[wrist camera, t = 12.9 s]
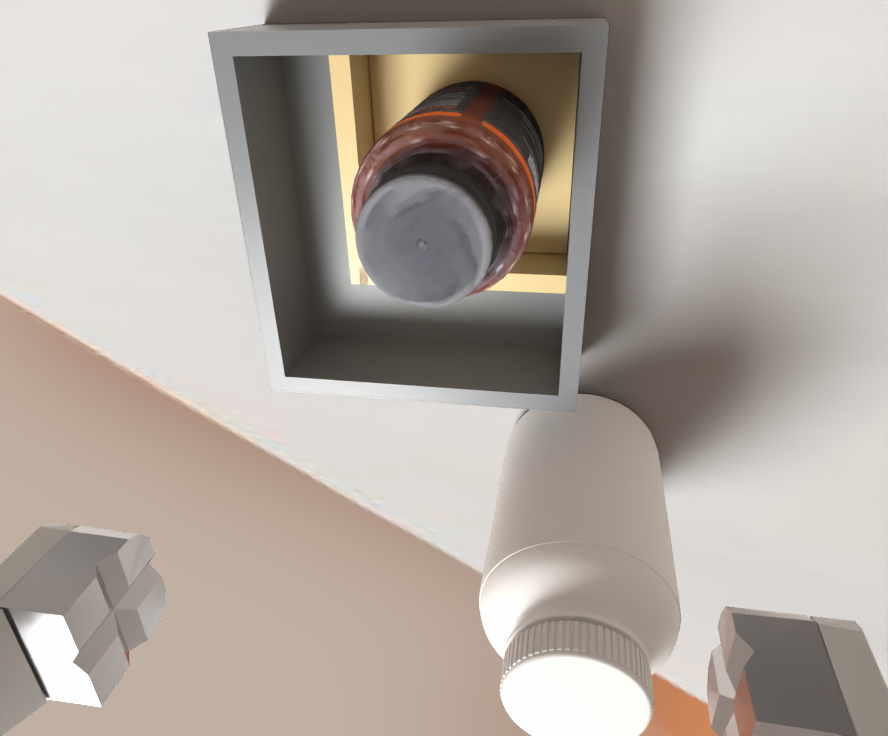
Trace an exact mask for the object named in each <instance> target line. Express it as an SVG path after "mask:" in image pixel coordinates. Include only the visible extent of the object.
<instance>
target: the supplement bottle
mask: <svg viewBox="0 0 888 736" xmlns="http://www.w3.org/2000/svg"><path fill="white" fill-rule="evenodd" d="M543 170H544V144H543V139H542V134H541V131H540V128H539V125H538V123H537V121H536V119H535V117H534V115H533V114H532V112H531V111H530V110H529V108H528V107H527V105H526V104H525V103H524V102H523V101H522V100H521V99H519V98H518V97H517V96H516V95H514V94H513V93H511V92H510V91H508V90H506V89H505V88H502V87H500V86H498V85H495V84H492V83H488V82H485V81H464V82H458V83H454V84H451V85H448V86H446V87H444V88H442V89H440V90H438V91H436V92H434V93H433V94H431V95H430V96H428V97H427V98H426V99H425V100H423V101H422V102H421V103H420V104H419V105H418V106H416V107H415V108H414V109H413V110H412V111H410V112H409V113H408V114H407V115H406V116H405V117H403V118H402V119H401V120H400V121H399V122H397V123H396V124H395V125H394V126H393V127H391V128H390V129H389V130H388V131H387V132H386V133H385V134H383V135H382V136H381V137H380V138H379V139H378V140H377V141H376V142H375V143H374V144H373V145H372V147H371V148H370V150H369V151H368V152H367V154H366V155H365V157H364V158H363V160H362V162H361V164H360V166H359V169H358V172H357V174H356V176H355V179H354V183H353V188H352V194H351V217H352V223H353V227H354V231H355V239H356V248H357V252H358V256H359V259H360V261H361V264H362V266H363V268H364V270H365V272H366V273H367V275H368V276H369V278H370V279H371V280H372V282H373V283H374V284H375V285H376V286H377V287H378V288H379V289H380V290H382V291H383V292H384V293H386V294H387V295H388V296H390V297H391V298H393V299H395V300H397V301H399V302H401V303H403V304H407V305H411V306H416V307H420V308H438V307H445V306H448V305H451V304H453V303H456V302H458V301H459V300H461V299H463V298H466V297H469V296H472V295H475V294H478V293H480V292H483V291H485V290H486V289H489V288H491V287H492V286H494V285H495V284H496V283H498V282H499V281H500V280H502V279H503V278H504V277H505V276H506V275H507V274H508V273H509V272H510V271H511V270H512V269H513V268H514V266H515V264H516V263H517V262H518V261H519V259H520V257H521V256H522V254H523V252H524V250H525V248H526V246H527V243H528V241H529V238H530V235H531V232H532V227H533V223H534V219H535V214H536V208H537V203H538V198H539V191H540V187H541V180H542V175H543Z"/></svg>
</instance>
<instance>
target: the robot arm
mask: <svg viewBox="0 0 888 736" xmlns="http://www.w3.org/2000/svg"><path fill="white" fill-rule="evenodd" d="M153 556H154V551H153V548H152V546H151V543H150V540H149V538H148V537H145V536H143V535H139V534H133V533H127V532H120V531H113V530H107V529H101V528H94V527H88V526H78V525H71V524H64V523H58V522H51V523H48V524H46V525H43V526H40V527H39V528H38V529H37V530H36V531H35V532H34V533H33V534H32V535H31V536H30V537H29V538H28V539H27V540H26V541H25V542H24V543H22V544H21V545H20V546H19V547H18V548H17V549H16V550H15V551H14V552H13V553H12V554H11V555H10V556H9V557H8V558H7V559H6V560H5V561H4V562H3V563H1V564H0V736H2V735H3V734H5V733H6V732H7V731H9V730H10V729H12V728H13V727H14V726H16V725H17V724H18V723H20V722H21V721H23V720H24V719H25V718H27V717H28V716H29V715H31V714H32V713H33V712H35V711H36V710H38V709H39V708H40V707H42V706H43V705H44V704H46V703H47V700H46V699H50V700H58V701H65V702H71V703H79V704H86V705H93V706H99V707H101V706H102V705H103V704H104V702H105V701H106V699H107V698H108V696H109V695H110V694H111V692H112V691H113V689H114V688H115V686H116V685H117V683H118V682H119V681H120V679H121V678H122V676H123V675H124V673H125V672H126V670H127V669H128V668H129V666H130V662H129V651H130V650H132V649H134V648H135V647H137V646H139V645H140V644H142V643H143V642H145V641H146V640H148V638H149V637H150V635H151V634H152V632H153V631H154V629H155V628H156V626H157V625H158V623H159V620H160V617H161V614H162V611H163V607H164V605H165V587H164V583H163V580H162V576H161V575H160V574H159V573H158V572H157V571H156V570H155V569H154V568H153V567H152V566H151V565H150V564H149V562H150V561H151V559H152V557H153ZM718 631H719V636H720V642H721V645H720V646H718V647H717V648H715V649H714V650H712V653H711V658H710V663H709V668H708V683H707V696H708V708H709V715H710V722H711V727H712V729H713V730H714V731H715V732H716V733H717V735H718V736H888V687H887V685H886V683H885V680H884V678H883V676H882V673H881V671H880V669H879V666H878V664H877V662H876V660H875V657H874V655H873V653H872V650H871V648H870V646H869V643H868V641H867V639H866V636H865V634H864V632H863V630H862V628H861V627H860V626H859V625H858V624H857V623H856V622H855V621H847V620H839V619H830V618H822V617H813V616H811V617H808V616H806V615H797V614H788V613H779V612H771V611H762V610H753V609H744V608H735V607H727V606H726V607H725V608H724V610H723V611H722V613H721V616H720V620H719V624H718Z"/></svg>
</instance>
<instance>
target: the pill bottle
mask: <svg viewBox="0 0 888 736" xmlns="http://www.w3.org/2000/svg"><path fill="white" fill-rule="evenodd" d="M479 607H480V613H481V619H482V623H483V626H484V629H485V632H486V635H487V637H488V639H489V641H490V642H491V644H492V645H493V647H494V649H495V650H496V651H497V653H498V654H499V655H500V656H501V657H502V658H503V667H502V674H501V682H500V696H501V700H502V701H503V705H504V707H505V709H506V711H507V712H508V714H509V716H510V717H511V718H512V719H513V720H514V722H515V723H516V724H517V725H518V726H520V727H521V728H522V729H523V730H525V731H526V732H527V733H529V734H530V735H532V736H639V735H640V734H641V733H642V732H643V731H644V730H645V728H646V727H647V726H648V724H649V723H650V720H651V718H652V716H653V712H654V700H653V699H654V698H653V687H652V677H651V675H652V674H654V673H655V672H656V671H657V670H658V669H659V668H660V667H661V666H662V665H663V664H664V663H665V662H666V660H667V659H668V657H669V656H670V654H671V652H672V651H673V648H674V646H675V644H676V641H677V637H678V633H679V629H680V623H681V613H680V602H679V595H678V588H677V581H676V574H675V567H674V560H673V553H672V545H671V538H670V531H669V524H668V517H667V510H666V503H665V496H664V489H663V482H662V475H661V468H660V460H659V454H658V450H657V447H656V444H655V441H654V439H653V436H652V434H651V432H650V431H649V429H648V427H647V426H646V425H645V423H644V422H643V421H642V420H641V419H640V418H639V417H638V416H637V415H636V414H635V413H634V412H632V411H631V410H630V409H628V408H627V407H625V406H624V405H622V404H620V403H618V402H616V401H613V400H611V399H608V398H605V397H601V396H597V395H590V394H578V398H577V410H576V413H571V412H557V411H544V410H529V411H528V412H527V413H525V414H524V415H523V416H522V417H521V419H520V420H519V421H518V422H517V424H516V425H515V427H514V428H513V430H512V432H511V435H510V437H509V440H508V443H507V446H506V450H505V456H504V461H503V467H502V472H501V478H500V483H499V489H498V494H497V500H496V505H495V511H494V516H493V522H492V527H491V533H490V538H489V544H488V549H487V555H486V560H485V566H484V571H483V577H482V582H481V588H480V597H479Z"/></svg>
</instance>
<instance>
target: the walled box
mask: <svg viewBox="0 0 888 736" xmlns="http://www.w3.org/2000/svg"><path fill="white" fill-rule="evenodd" d="M608 34H609V24H608V22H607V20H606V19H605V17H602V18H552V19H502V20H452V21H402V22H352V23H302V24H262V25H255V26H248V27H241V28H233V29H226V30H219V31H212V32H208V37H209V42H210V48H211V54H212V59H213V65H214V71H215V76H216V82H217V87H218V93H219V99H220V104H221V110H222V116H223V121H224V127H225V133H226V138H227V144H228V150H229V155H230V161H231V166H232V172H233V178H234V183H235V189H236V195H237V200H238V206H239V212H240V217H241V223H242V229H243V234H244V240H245V245H246V251H247V257H248V262H249V268H250V274H251V279H252V285H253V291H254V296H255V302H256V308H257V313H258V319H259V324H260V330H261V336H262V341H263V347H264V353H265V358H266V364H267V370H268V375H269V381H270V387H271V390H272V391H286V392H299V393H313V394H326V395H340V396H354V397H367V398H381V399H394V400H408V401H422V402H435V403H449V404H462V405H476V406H489V407H503V408H517V409H530V410H544V411H557V412H571V413H576V410H577V398H578V386H579V375H580V363H581V351H582V339H583V328H584V316H585V304H586V292H587V281H588V269H589V257H590V245H591V234H592V222H593V210H594V198H595V187H596V175H597V163H598V151H599V140H600V128H601V116H602V104H603V93H604V81H605V69H606V57H607V46H608ZM464 81H485V82H488V83H492V84H495V85H498V86H500V87H502V88H505V89H506V90H508V91H510V92H511V93H513V94H514V95H516V96H517V97H518V98H519V99H521V100H522V101H523V102H524V103H525V104H526V105H527V107H528V108H529V110H530V111H531V112H532V114H533V115H534V117H535V119H536V121H537V123H538V125H539V128H540V131H541V134H542V139H543V144H544V170H543V175H542V180H541V187H540V191H539V198H538V203H537V208H536V214H535V219H534V223H533V227H532V232H531V235H530V238H529V241H528V243H527V246H526V248H525V250H524V252H523V254H522V256H521V257H520V259H519V261H518V262H517V263H516V264H515V266H514V268H513V269H512V270H511V271H510V272H509V273H508V274H507V275H506V276H505V277H504V278H503V279H502V280H500V281H499V282H498V283H496V284H495V285H494V286H492V287H491V288H489V289H486V290H485V291H483V292H480V293H478V294H475V295H472V296H469V297H466V298H463V299H461V300H459V301H458V302H456V303H453V304H451V305H448V306H445V307H438V308H420V307H416V306H411V305H407V304H403V303H401V302H399V301H397V300H395V299H393V298H391V297H390V296H388V295H387V294H386V293H384V292H383V291H382V290H380V289H379V288H378V287H377V286H376V285H375V284H374V283H373V282H372V280H371V279H370V278H369V276H368V275H367V273H366V272H365V270H364V268H363V266H362V264H361V261H360V259H359V256H358V252H357V248H356V239H355V231H354V227H353V223H352V217H351V194H352V188H353V183H354V179H355V176H356V174H357V172H358V169H359V166H360V164H361V162H362V160H363V158H364V157H365V155H366V154H367V152H368V151H369V150H370V148H371V147H372V145H373V144H374V143H375V142H376V141H377V140H378V139H379V138H380V137H381V136H382V135H383V134H385V133H386V132H387V131H388V130H389V129H390V128H391V127H393V126H394V125H395V124H396V123H397V122H399V121H400V120H401V119H402V118H403V117H405V116H406V115H407V114H408V113H409V112H410V111H412V110H413V109H414V108H415V107H416V106H418V105H419V104H420V103H421V102H422V101H423V100H425V99H426V98H427V97H428V96H430V95H431V94H433V93H434V92H436V91H438V90H440V89H442V88H444V87H446V86H448V85H451V84H454V83H458V82H464Z"/></svg>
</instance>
